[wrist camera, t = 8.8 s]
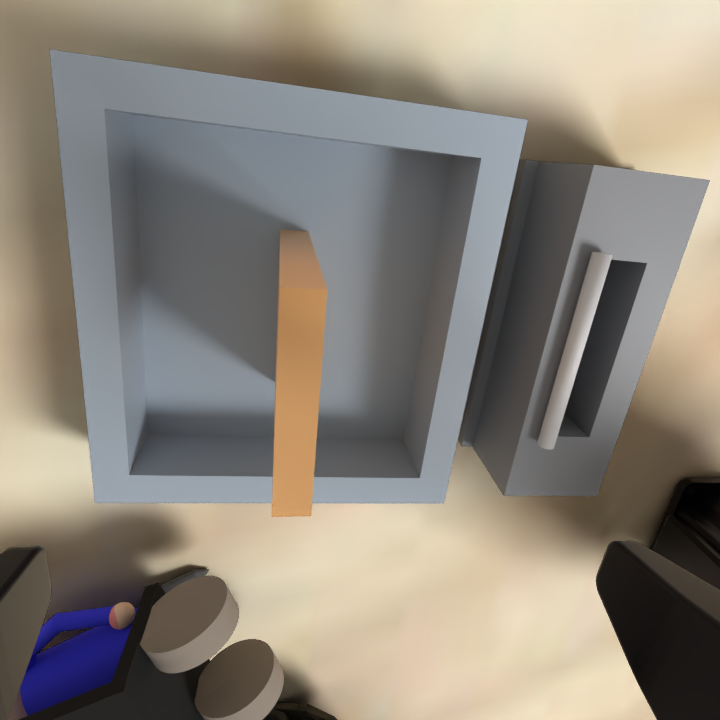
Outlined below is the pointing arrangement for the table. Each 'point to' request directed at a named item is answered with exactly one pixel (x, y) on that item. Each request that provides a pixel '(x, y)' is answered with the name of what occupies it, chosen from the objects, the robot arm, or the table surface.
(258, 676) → the figurine character
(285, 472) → the tan wooden block
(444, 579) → the table surface
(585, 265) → the dispenser
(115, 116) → the tray
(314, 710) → the toy tank
